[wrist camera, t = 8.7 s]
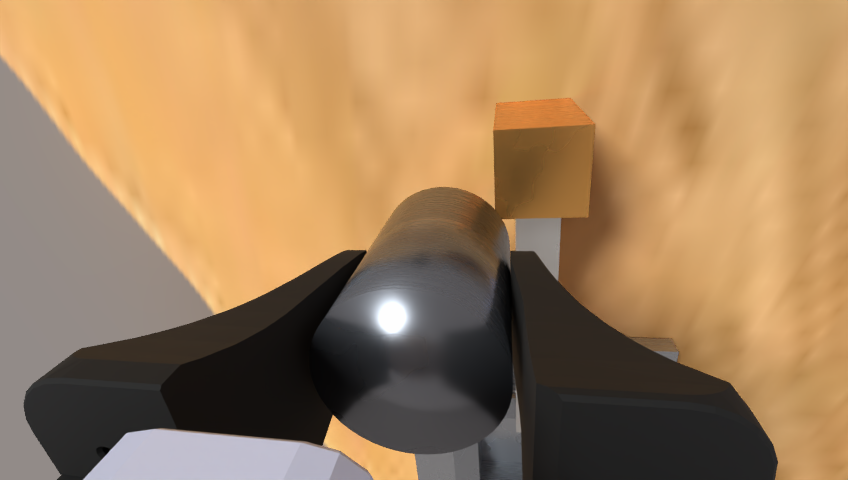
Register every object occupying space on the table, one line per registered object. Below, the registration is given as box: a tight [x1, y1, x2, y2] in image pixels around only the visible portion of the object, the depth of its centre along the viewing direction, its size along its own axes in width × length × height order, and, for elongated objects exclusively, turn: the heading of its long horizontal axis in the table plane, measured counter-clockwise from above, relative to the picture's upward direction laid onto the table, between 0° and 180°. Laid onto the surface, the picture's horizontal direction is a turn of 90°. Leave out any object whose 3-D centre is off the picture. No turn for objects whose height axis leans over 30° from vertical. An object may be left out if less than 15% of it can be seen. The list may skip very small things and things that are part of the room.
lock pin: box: [493, 98, 595, 433], centre depth 19 cm, size 3×14×6 cm, turn 5°
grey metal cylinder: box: [309, 187, 513, 454], centre depth 11 cm, size 4×4×6 cm
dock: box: [415, 337, 679, 480], centre depth 24 cm, size 14×12×3 cm
